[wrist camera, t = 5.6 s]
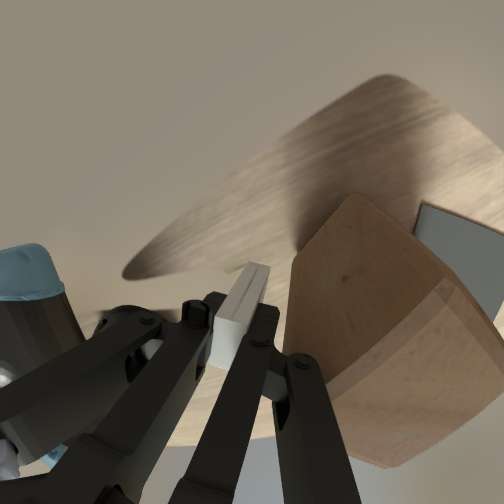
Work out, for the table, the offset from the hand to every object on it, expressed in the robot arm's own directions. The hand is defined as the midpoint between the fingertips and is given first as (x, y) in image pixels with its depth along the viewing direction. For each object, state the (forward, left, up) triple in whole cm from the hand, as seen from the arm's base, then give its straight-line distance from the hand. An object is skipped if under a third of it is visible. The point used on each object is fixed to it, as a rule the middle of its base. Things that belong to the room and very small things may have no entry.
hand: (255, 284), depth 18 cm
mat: (+22, +1, -13) cm, 26 cm away
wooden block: (+8, 0, -13) cm, 15 cm away
